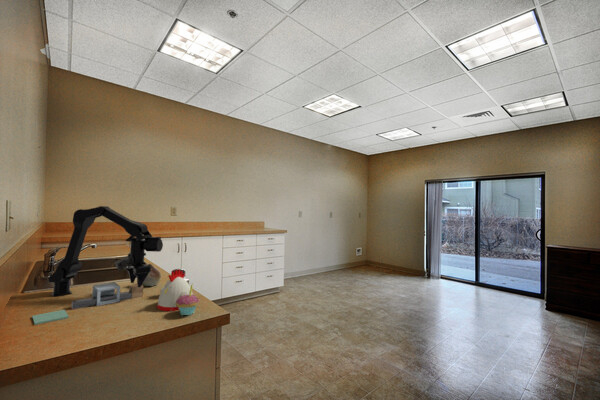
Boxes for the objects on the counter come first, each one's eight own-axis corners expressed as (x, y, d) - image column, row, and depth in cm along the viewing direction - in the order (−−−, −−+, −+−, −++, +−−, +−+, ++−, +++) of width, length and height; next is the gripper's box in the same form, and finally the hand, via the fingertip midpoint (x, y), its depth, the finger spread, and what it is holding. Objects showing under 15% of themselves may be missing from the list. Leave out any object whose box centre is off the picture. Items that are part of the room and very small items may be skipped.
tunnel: (91, 300, 119) (92, 285, 119) (113, 296, 125) (114, 282, 125) (96, 306, 114) (97, 289, 114) (119, 301, 120) (120, 286, 120)
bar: (71, 308, 111) (71, 300, 111) (129, 297, 126) (129, 291, 126) (72, 310, 109) (72, 302, 109) (131, 299, 124) (131, 292, 124)
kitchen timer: (149, 307, 114) (151, 270, 114) (176, 298, 127) (177, 264, 127) (175, 313, 109) (177, 275, 109) (200, 302, 121) (201, 268, 122)
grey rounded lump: (134, 287, 141) (135, 263, 141) (147, 282, 150) (148, 259, 151) (152, 288, 139) (154, 264, 140) (164, 283, 149) (166, 261, 149)
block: (128, 296, 127) (129, 285, 127) (139, 294, 130) (140, 283, 130) (131, 298, 124) (132, 287, 124) (142, 296, 127) (143, 285, 127)
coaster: (32, 317, 101) (32, 315, 101) (64, 311, 107) (64, 309, 107) (34, 325, 95) (34, 323, 95) (68, 317, 101) (68, 316, 101)
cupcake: (203, 311, 112) (204, 281, 112) (187, 319, 104) (189, 286, 104) (185, 308, 114) (187, 279, 115) (169, 315, 106) (171, 284, 107)
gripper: (111, 250, 129) (109, 283, 128) (124, 255, 116) (122, 293, 116) (137, 248, 137) (136, 279, 137) (152, 253, 125) (150, 288, 124)
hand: (135, 285), depth 128 cm, fingers open, 9 cm apart
